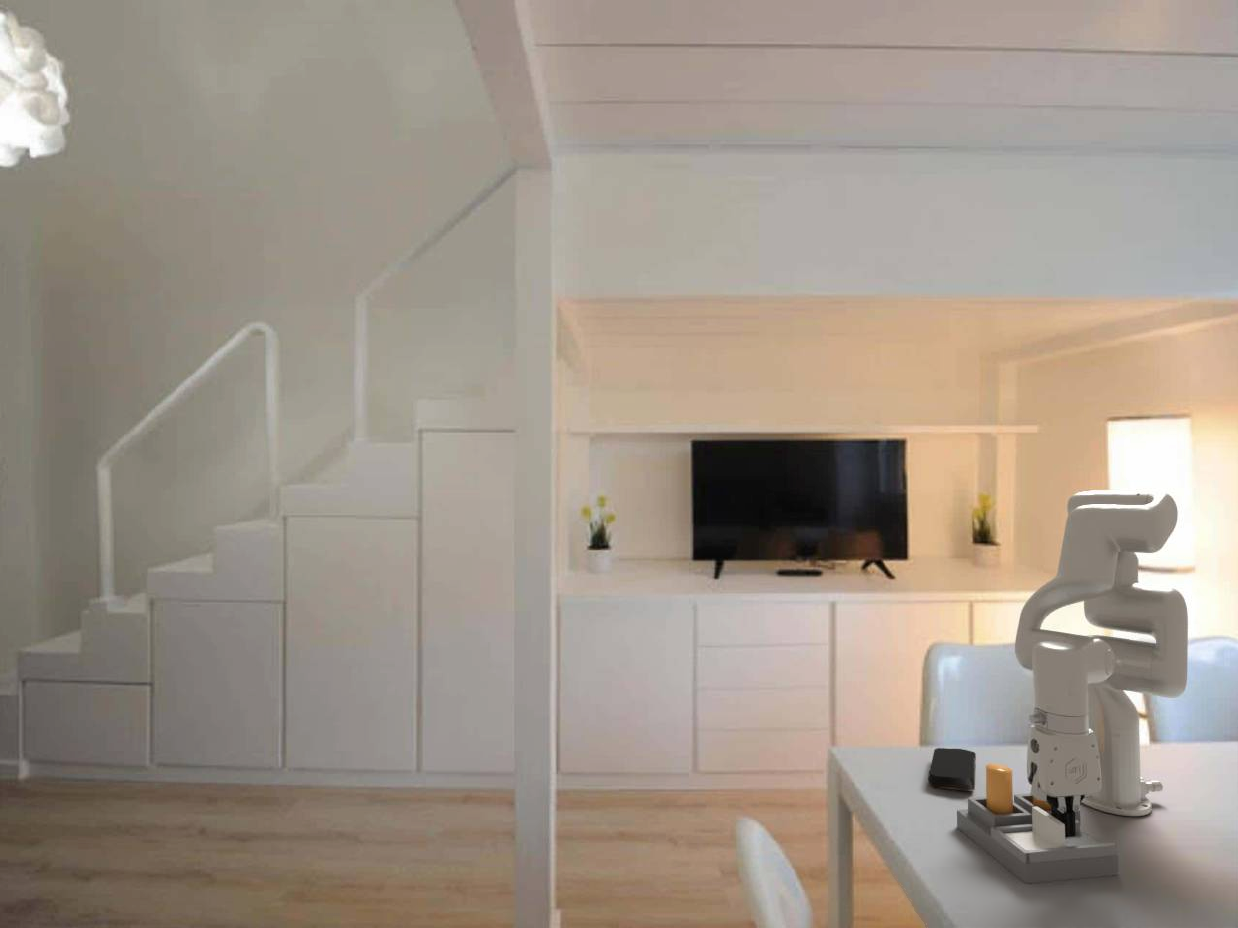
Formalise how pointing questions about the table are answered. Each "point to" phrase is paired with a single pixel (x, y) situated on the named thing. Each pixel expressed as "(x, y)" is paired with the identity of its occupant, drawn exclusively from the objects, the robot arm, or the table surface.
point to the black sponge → (953, 769)
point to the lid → (1041, 832)
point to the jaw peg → (999, 789)
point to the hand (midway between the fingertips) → (1063, 832)
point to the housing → (1039, 864)
